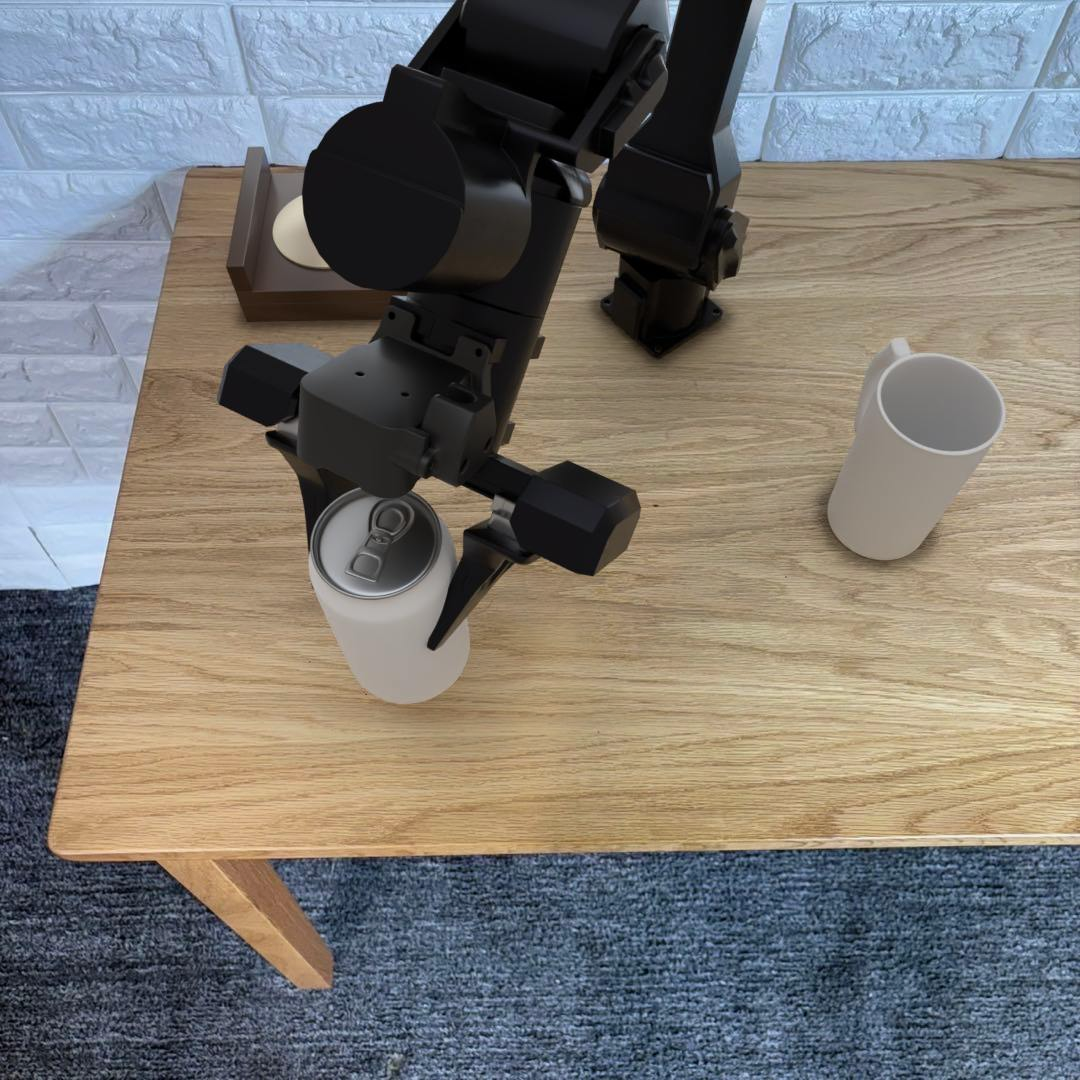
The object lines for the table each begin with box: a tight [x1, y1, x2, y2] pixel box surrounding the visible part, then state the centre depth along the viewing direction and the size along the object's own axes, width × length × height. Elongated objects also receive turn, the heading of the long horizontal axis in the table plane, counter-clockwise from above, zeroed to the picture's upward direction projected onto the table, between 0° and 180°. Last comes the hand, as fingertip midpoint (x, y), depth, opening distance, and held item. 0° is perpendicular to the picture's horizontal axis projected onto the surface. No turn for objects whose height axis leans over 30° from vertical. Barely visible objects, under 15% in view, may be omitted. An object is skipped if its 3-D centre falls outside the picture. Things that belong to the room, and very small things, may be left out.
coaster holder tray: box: [225, 146, 408, 322], centre depth 72 cm, size 12×12×5 cm
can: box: [308, 487, 471, 705], centre depth 48 cm, size 6×6×12 cm
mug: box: [826, 337, 1007, 561], centre depth 59 cm, size 10×7×12 cm, turn 10°
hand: (375, 617), depth 47 cm, fingers closed on can, 6 cm apart
